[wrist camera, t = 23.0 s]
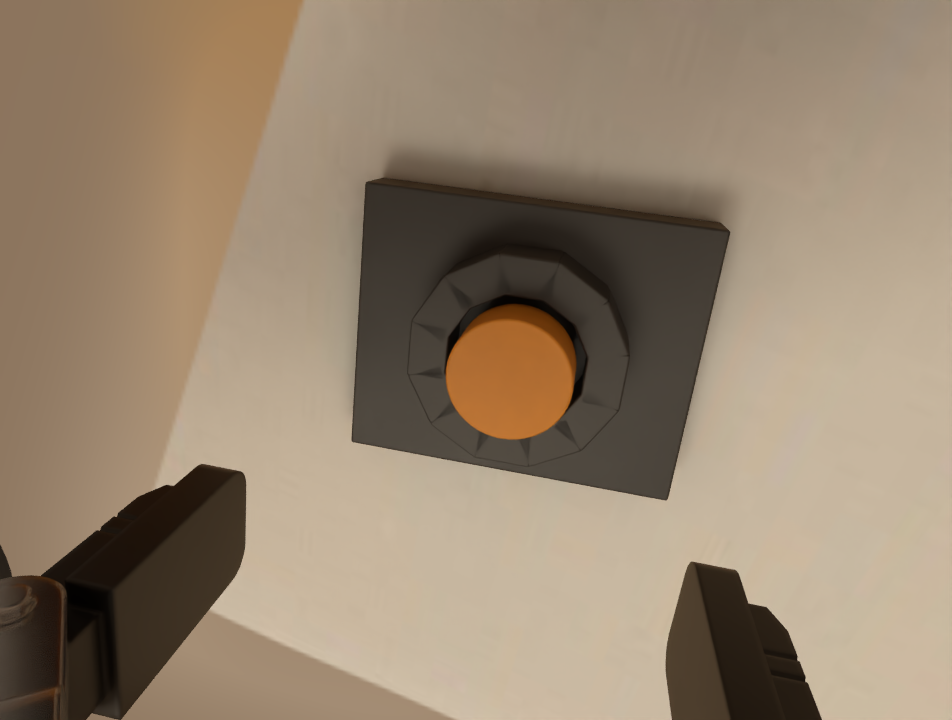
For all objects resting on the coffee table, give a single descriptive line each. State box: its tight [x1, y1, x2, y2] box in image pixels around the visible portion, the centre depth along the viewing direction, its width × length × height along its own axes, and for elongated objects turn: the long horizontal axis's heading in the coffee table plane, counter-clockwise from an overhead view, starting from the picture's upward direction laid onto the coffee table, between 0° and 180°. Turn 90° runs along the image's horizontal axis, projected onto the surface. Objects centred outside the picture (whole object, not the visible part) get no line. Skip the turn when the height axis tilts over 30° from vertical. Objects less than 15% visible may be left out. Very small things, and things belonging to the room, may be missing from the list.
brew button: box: [446, 304, 576, 440], centre depth 20 cm, size 4×4×2 cm
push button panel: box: [352, 178, 730, 500], centre depth 22 cm, size 11×9×4 cm
